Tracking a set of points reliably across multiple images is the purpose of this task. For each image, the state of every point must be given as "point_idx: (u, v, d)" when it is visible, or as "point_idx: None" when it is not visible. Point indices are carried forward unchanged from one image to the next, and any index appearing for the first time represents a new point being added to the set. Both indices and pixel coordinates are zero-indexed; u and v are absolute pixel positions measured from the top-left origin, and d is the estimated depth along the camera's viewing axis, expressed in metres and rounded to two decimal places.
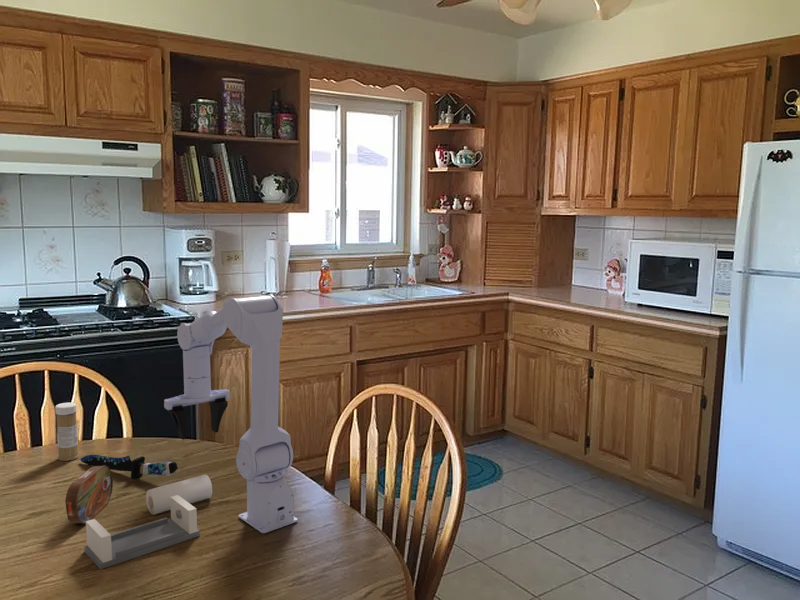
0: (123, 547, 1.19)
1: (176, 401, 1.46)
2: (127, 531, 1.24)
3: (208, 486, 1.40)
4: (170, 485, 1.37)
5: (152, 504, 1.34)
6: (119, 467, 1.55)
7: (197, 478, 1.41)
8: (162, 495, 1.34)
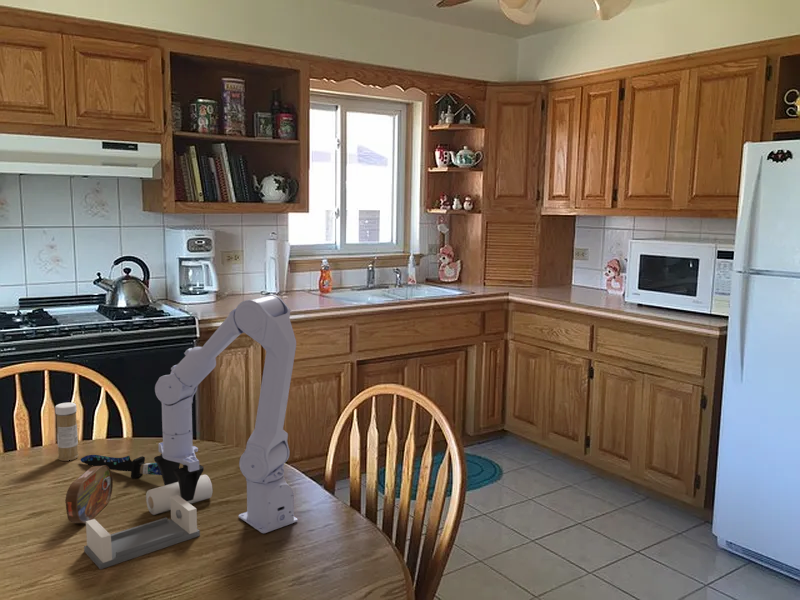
0: (123, 547, 1.19)
1: (160, 446, 1.41)
2: (127, 531, 1.24)
3: (208, 486, 1.40)
4: (170, 485, 1.37)
5: (152, 504, 1.34)
6: (119, 467, 1.55)
7: None
8: (162, 495, 1.34)
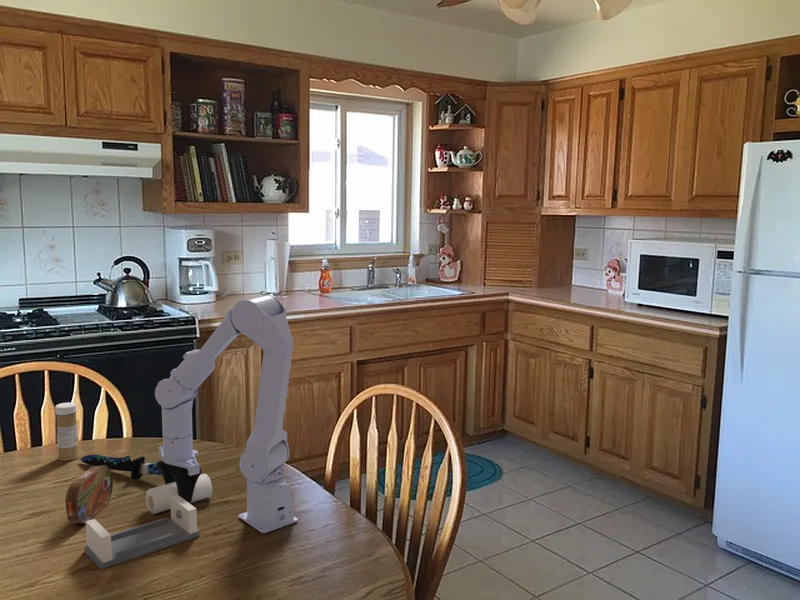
0: (123, 547, 1.19)
1: (161, 450, 1.41)
2: (127, 531, 1.24)
3: (208, 485, 1.41)
4: (170, 484, 1.37)
5: (152, 503, 1.34)
6: (119, 467, 1.55)
7: None
8: (162, 494, 1.34)
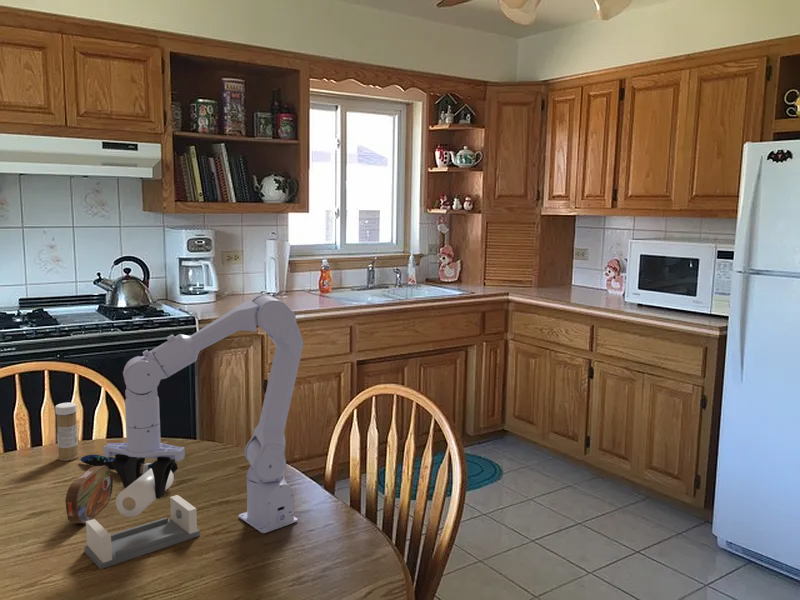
0: (123, 547, 1.19)
1: (112, 449, 1.22)
2: (127, 531, 1.24)
3: (170, 474, 1.28)
4: (141, 481, 1.21)
5: (133, 504, 1.18)
6: None
7: None
8: (143, 491, 1.19)
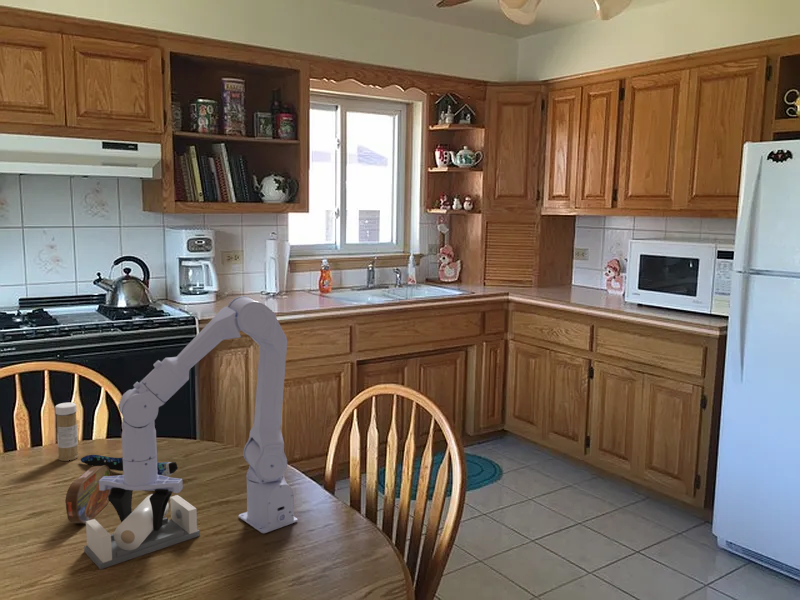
0: None
1: (108, 482, 1.20)
2: None
3: None
4: (138, 512, 1.20)
5: (132, 537, 1.17)
6: (119, 467, 1.55)
7: None
8: (141, 523, 1.18)
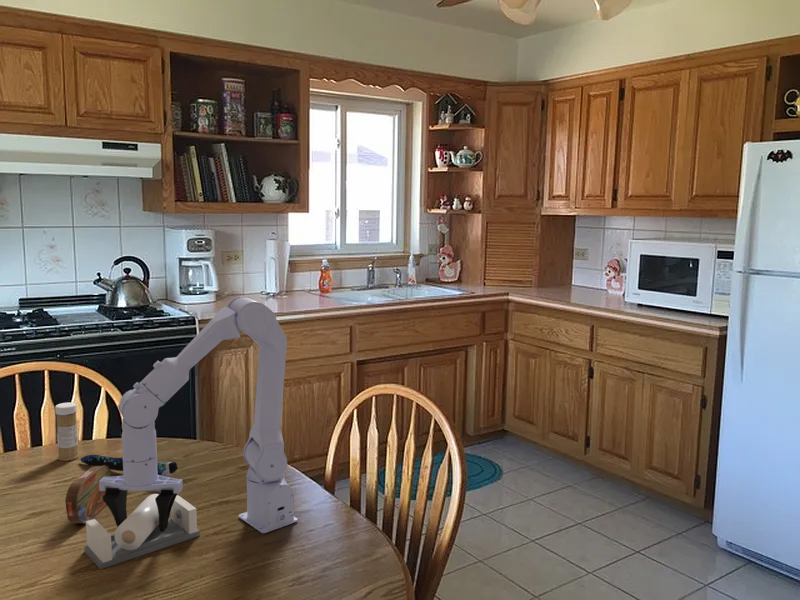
0: None
1: (108, 483, 1.20)
2: None
3: None
4: (139, 512, 1.20)
5: (133, 538, 1.17)
6: (119, 467, 1.55)
7: (154, 499, 1.26)
8: (142, 524, 1.18)
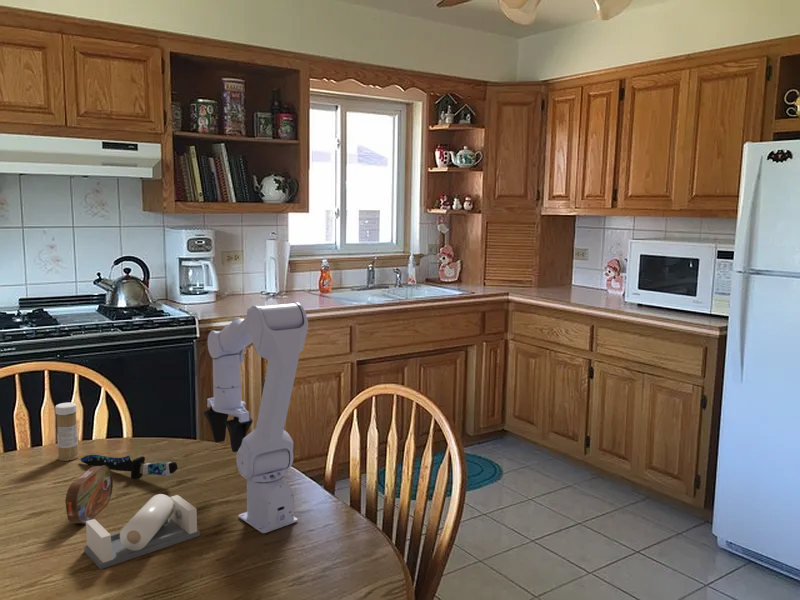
0: (123, 547, 1.19)
1: (210, 401, 1.48)
2: None
3: (172, 509, 1.28)
4: (149, 514, 1.20)
5: (137, 539, 1.17)
6: (119, 467, 1.55)
7: (163, 501, 1.26)
8: (150, 529, 1.18)
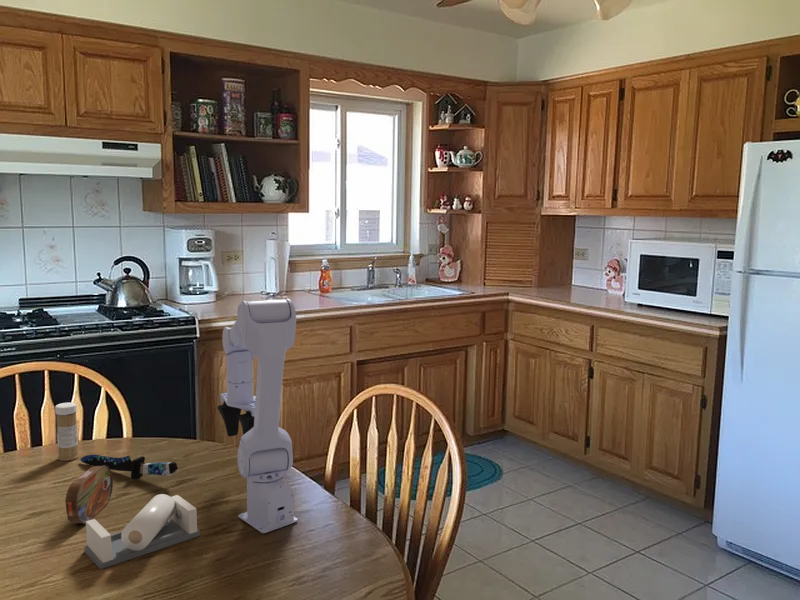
0: (123, 547, 1.19)
1: (223, 396, 1.53)
2: None
3: (174, 510, 1.28)
4: (152, 515, 1.20)
5: (139, 540, 1.17)
6: (119, 467, 1.55)
7: (166, 502, 1.26)
8: (152, 530, 1.18)
